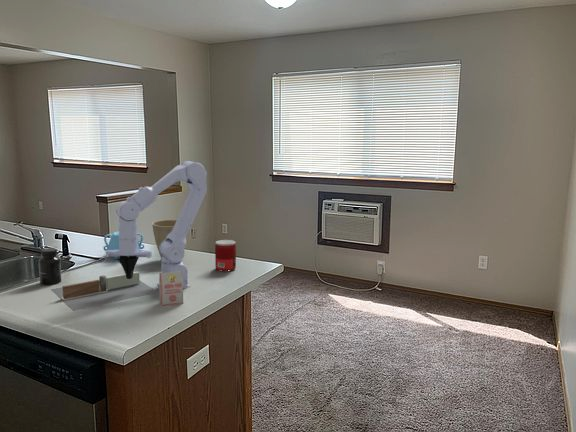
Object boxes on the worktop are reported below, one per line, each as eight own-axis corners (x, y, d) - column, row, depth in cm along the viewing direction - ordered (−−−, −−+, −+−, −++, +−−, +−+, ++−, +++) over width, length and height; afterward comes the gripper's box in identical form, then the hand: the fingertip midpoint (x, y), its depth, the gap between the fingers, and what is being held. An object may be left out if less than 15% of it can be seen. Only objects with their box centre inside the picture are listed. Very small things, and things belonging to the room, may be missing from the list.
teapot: (105, 251, 205) (104, 225, 203) (144, 249, 210) (143, 224, 208) (102, 263, 186) (100, 235, 184) (145, 261, 191) (144, 233, 189)
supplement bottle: (37, 286, 157) (35, 252, 155) (42, 280, 163) (40, 247, 161) (59, 285, 159) (57, 251, 157) (63, 279, 165) (61, 247, 163)
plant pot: (161, 267, 183) (160, 227, 180) (148, 258, 195) (146, 221, 192) (195, 261, 191) (195, 224, 189) (181, 254, 203) (180, 218, 201)
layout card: (158, 292, 154) (158, 291, 153) (73, 311, 136) (73, 310, 136) (129, 275, 172) (129, 274, 172) (50, 289, 154) (50, 288, 154)
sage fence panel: (139, 283, 161) (139, 272, 160) (107, 289, 154) (107, 278, 153) (138, 282, 162) (137, 271, 161) (106, 288, 155) (105, 277, 154)
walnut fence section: (107, 291, 153) (106, 276, 152) (64, 299, 145) (63, 284, 144) (105, 289, 155) (104, 275, 154) (62, 298, 146) (61, 282, 145)
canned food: (238, 270, 180) (238, 243, 178) (217, 272, 177) (217, 244, 175) (233, 265, 187) (233, 239, 185) (213, 267, 184) (213, 240, 182)
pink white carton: (159, 302, 145) (158, 271, 143) (181, 299, 148) (180, 269, 146) (161, 306, 142) (160, 275, 140) (183, 303, 144) (182, 273, 143)
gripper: (153, 235, 155) (154, 274, 157) (110, 234, 154) (112, 274, 157) (147, 240, 148) (148, 281, 150) (102, 239, 148) (104, 280, 150)
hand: (129, 278), depth 153 cm, fingers closed
